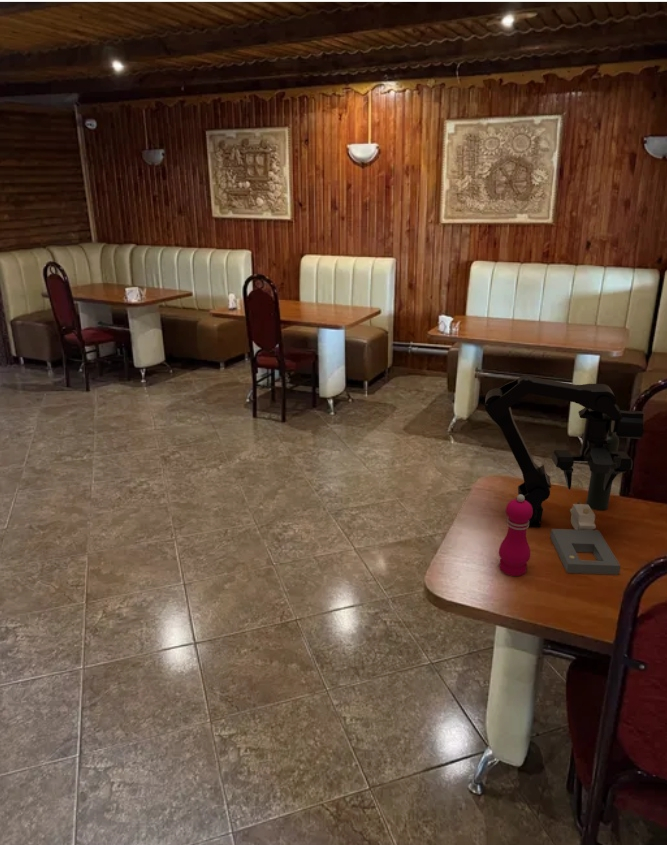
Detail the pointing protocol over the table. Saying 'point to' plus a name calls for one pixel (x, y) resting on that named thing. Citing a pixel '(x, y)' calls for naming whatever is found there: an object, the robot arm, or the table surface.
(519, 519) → the pepper mill
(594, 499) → the wine bottle
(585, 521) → the servo
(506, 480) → the table surface
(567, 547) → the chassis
